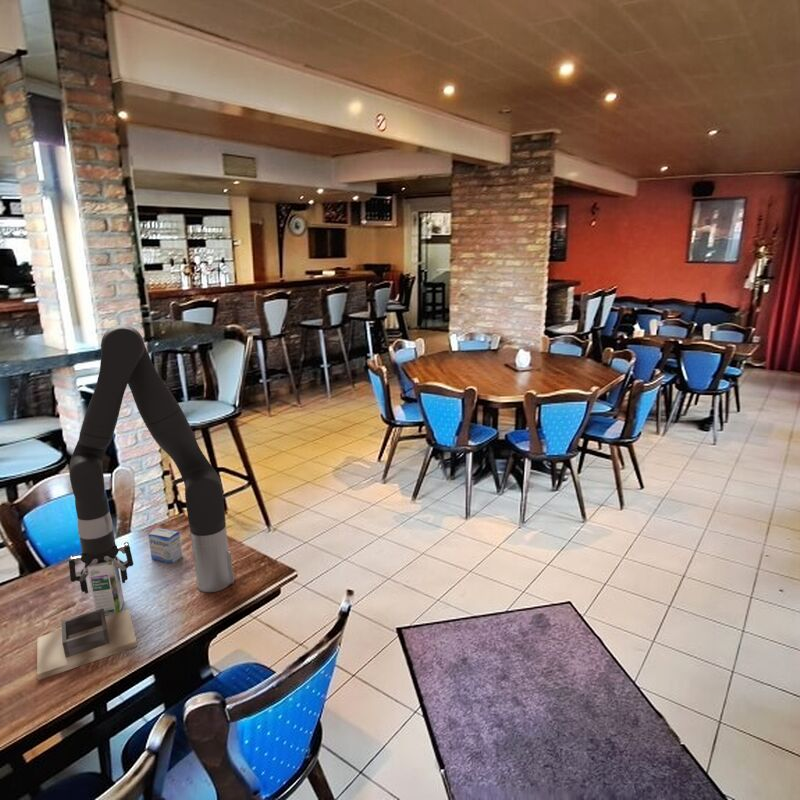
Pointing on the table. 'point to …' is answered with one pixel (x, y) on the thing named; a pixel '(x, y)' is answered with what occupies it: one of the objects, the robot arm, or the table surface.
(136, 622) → the table surface
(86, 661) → the socket stand
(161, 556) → the medicine box
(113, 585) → the syrup box
